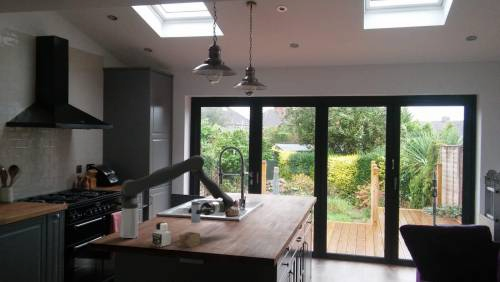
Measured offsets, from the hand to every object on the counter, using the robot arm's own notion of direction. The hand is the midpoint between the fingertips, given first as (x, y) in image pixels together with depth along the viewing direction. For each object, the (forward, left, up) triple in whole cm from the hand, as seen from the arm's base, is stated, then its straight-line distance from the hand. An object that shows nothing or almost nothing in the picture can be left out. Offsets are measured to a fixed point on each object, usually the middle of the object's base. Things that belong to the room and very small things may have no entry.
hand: (192, 211), depth 232 cm
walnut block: (0, -2, -18) cm, 18 cm away
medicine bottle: (-13, -10, -18) cm, 24 cm away
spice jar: (0, +3, -6) cm, 7 cm away
